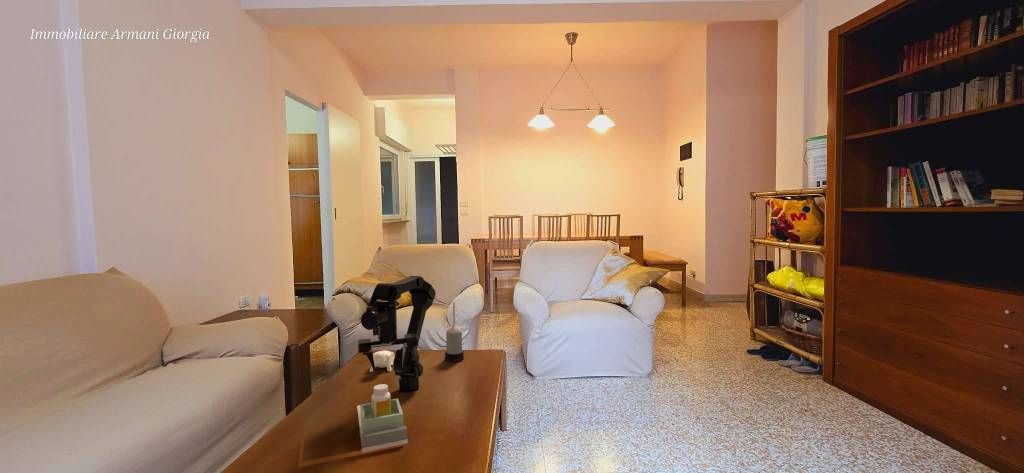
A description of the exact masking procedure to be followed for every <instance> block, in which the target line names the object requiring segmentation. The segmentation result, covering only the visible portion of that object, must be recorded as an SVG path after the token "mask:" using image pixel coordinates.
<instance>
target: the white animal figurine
mask: <svg viewBox="0 0 1024 473" xmlns="http://www.w3.org/2000/svg"><path fill="white" fill-rule="evenodd" d="M394 358H395V353H394V352H393V351H390V350H379V351H376V352H374V353H373V359H374V365H375V369H376V368H380V369H382V368H383V369H384V368H386V370H387V372H388V373H389V372H392V366H393V362H394ZM369 372H370V373H373V372H374V371H373V368H372V366H371V365H370V369H369Z"/></svg>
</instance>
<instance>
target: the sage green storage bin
mask: <svg viewBox="0 0 1024 473" xmlns="http://www.w3.org/2000/svg"><path fill="white" fill-rule="evenodd" d="M359 405H360V410H361V424H362V432H363V433H368V432H374V431H379V430H384V429H390V428H395V427H400V426H404V413H403V410H402V407H401V403H400V400H399V398H393V399H392V398H391V415H386V416H381V417H375V418H372V403H371V402H368V403H363V404H362V403H361V404H359Z"/></svg>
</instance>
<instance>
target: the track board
mask: <svg viewBox="0 0 1024 473" xmlns="http://www.w3.org/2000/svg"><path fill="white" fill-rule="evenodd" d="M360 405H361V404H359V405H357V406H356V410H357V415H358V416H357V417H358V427H359V436H360V444H361V453H362V454H363V453H368V452H372V451H377V450H381V449H387V448H391V447H396V446H402V445H406V444H408V428H407V425H403V426H400V427H395V428H390V429H384V430H379V431H374V432H368V433H363V432H362V424H361V410H360Z"/></svg>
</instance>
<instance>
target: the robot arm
mask: <svg viewBox="0 0 1024 473" xmlns="http://www.w3.org/2000/svg"><path fill="white" fill-rule="evenodd" d="M404 293H409V294H410V296H411V298H410V301H411V304H412V305H411V306H412V311H411V315H410V319H409V323H408V326H407V327H408V328H407V332H406V334H404V335H403V337H401V338H400V337H399V338H398V328H397V327H398V325H397V324H398V323H397V322H398V320H397V318H398V317H397V316H398V315H397V314H398V313H397V307H399V306H400V302H399V301H398V300H399V299H400V298H401V297H402V295H403V294H404ZM436 296H437V294H436V289H435V288H434V287H433V285H432V284H430V283H429V282H428V281H426V280H425V279H424V277H423V276H421V275H410V276H408V277H405V278H402V279H400V280H398V281H394V282H380V283H379V282H378V283H377V284H376V285H375V287H374V289H373V291H372V294H371V297H370V300H369V302H368V306H367V307H366V308H365V310H366V311H365V312H363V313H362V315H361V317H360V324H361V326H362V327H363V328H364V329H366V330H367V331H370V330H371V331H372V336H373V337H375V336H377V339H378V340H375V341H372V340H371V338H363V339H358V341H357V352H358V353H360V354H362V355H363V356H366V357H367V358H368V360H369V364H370V367H371V366H372V368H373V372H375V371H376V368H375V365H374V359H373V354H374V353H373V349H372V348H380V347H381V348H382V347H389V346H396V345H402V347H401V348H400V349H399V348H398V349H396V351H395V354H394V362H393V365H392V366H393V367H392V368H393V371H394V374H395V377H396V376H399V378H398V379H397V383H398V384H397V386H398V387H397V390H398V392H399V393H413V392H415V391H417V390H420V382H419V381H420V377H422V375H423V372H424V366H423V365H422V364H421V363H420V354H419V351H418V347H419V342H420V338H421V334H422V331H423V330H422V329H423V326H424V323H425V322H424V321H425V317H426V313H427V311H428V309H430V308H431V307H432V305H433V303H434V300H435V298H436Z"/></svg>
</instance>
